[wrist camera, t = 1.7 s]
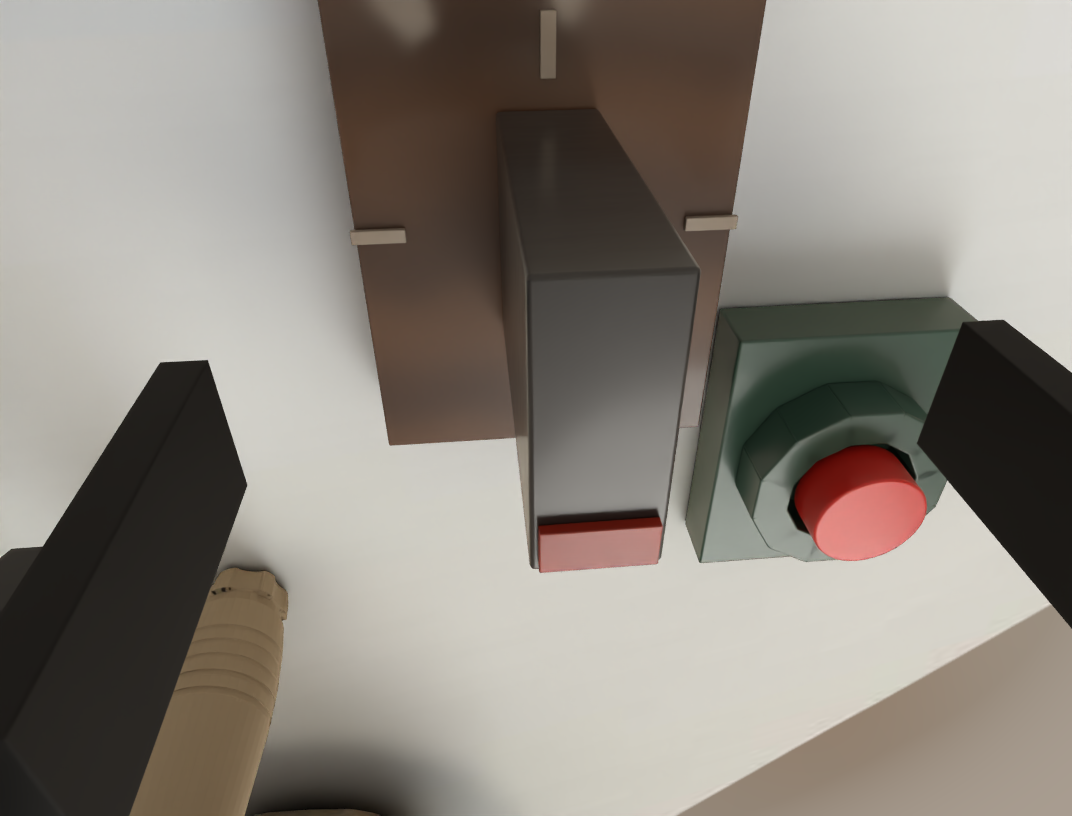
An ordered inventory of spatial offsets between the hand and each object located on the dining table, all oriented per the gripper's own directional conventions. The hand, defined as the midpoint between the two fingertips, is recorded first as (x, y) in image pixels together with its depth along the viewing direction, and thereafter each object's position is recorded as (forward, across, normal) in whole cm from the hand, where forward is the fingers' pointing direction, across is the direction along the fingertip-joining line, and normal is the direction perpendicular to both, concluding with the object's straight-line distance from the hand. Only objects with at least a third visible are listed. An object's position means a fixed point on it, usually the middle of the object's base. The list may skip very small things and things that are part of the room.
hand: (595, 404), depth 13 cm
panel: (+10, 0, 0) cm, 10 cm away
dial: (+8, 0, 0) cm, 8 cm away
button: (+7, +10, -9) cm, 15 cm away
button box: (+10, +10, -9) cm, 17 cm away
